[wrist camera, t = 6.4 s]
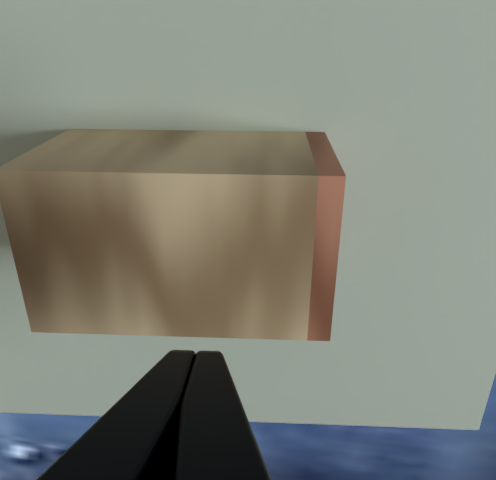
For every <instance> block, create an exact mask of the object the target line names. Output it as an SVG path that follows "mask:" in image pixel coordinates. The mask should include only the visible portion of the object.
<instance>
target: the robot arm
mask: <svg viewBox="0 0 496 480" xmlns="http://www.w3.org/2000/svg"><path fill="white" fill-rule="evenodd" d="M37 480H271V478H270V475H269V472H268V470H267V467H266V465H265V462H264V459H263V457H262V454H261V452H260V449H259V447H258V444H257V441H256V439H255V436H254V434H253V431H252V428H251V426H250V423H249V421H248V418H247V415H246V413H245V410H244V408H243V405H242V402H241V400H240V397H239V395H238V392H237V390H236V387H235V384H234V382H233V379H232V377H231V374H230V371H229V369H228V366H227V364H226V361H225V358H224V356H223V354H222V353H221V352H220V351H198V352H197V353H195V352H194V351H193V350H171V351H169V352H168V353H167V354H166V355H165V356H164V357H163V358H162V359H161V360H160V361H159V362H158V363H157V364H156V365H155V366H154V367H153V368H151V369H150V370H149V371H148V372H147V373H146V374H145V375H144V376H143V377H142V378H141V379H140V380H139V381H138V382H137V383H136V384H135V385H134V386H133V387H132V388H131V389H130V390H129V391H128V392H127V393H126V394H125V395H124V396H123V397H122V398H121V399H119V400H118V401H117V402H116V403H115V404H114V405H113V406H112V407H111V408H110V409H109V410H108V411H107V412H106V413H105V414H104V415H103V416H102V417H101V418H100V419H99V420H98V421H97V422H96V423H95V424H94V425H93V426H92V427H91V428H90V429H89V430H87V431H86V432H85V433H84V434H83V435H82V436H81V437H80V438H79V439H78V440H77V441H76V442H75V443H74V444H73V445H72V446H71V447H70V448H69V449H68V450H67V451H66V452H65V453H64V454H63V455H62V456H61V457H60V458H59V459H58V460H57V461H55V462H54V463H53V464H52V465H51V466H50V467H49V468H48V469H47V470H46V471H45V472H44V473H43V474H42V475H41V476H40V477H39V478H38V479H37Z"/></svg>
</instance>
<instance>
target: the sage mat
mask: <svg viewBox="0 0 496 480" xmlns="http://www.w3.org/2000/svg"><path fill="white" fill-rule="evenodd" d="M69 129H116V130H196V131H277V132H325V134H326V136H327V138H328V140H329V142H330V144H331V146H332V148H333V150H334V152H335V154H336V156H337V158H338V161H339V163H340V165H341V167H342V169H343V171H344V173H345V175H346V182H345V192H344V203H343V213H342V223H341V234H340V244H339V254H338V265H337V275H336V285H335V296H334V306H333V316H332V327H331V337H330V341H307V340H274V339H240V338H207V337H174V336H141V335H108V334H75V333H42V332H31V328H30V324H29V320H28V316H27V312H26V308H25V303H24V299H23V295H22V291H21V287H20V283H19V279H18V274H17V270H16V266H15V262H14V258H13V254H12V249H11V245H10V241H9V237H8V233H7V229H6V224H5V220H4V216H3V212H2V208H1V204H0V412H2V413H29V414H56V415H83V416H103V415H104V414H105V413H106V412H107V411H108V410H109V409H110V408H111V407H112V406H113V405H114V404H115V403H116V402H117V401H118V400H119V399H121V398H122V397H123V396H124V395H125V394H126V393H127V392H128V391H129V390H130V389H131V388H132V387H133V386H134V385H135V384H136V383H137V382H138V381H139V380H140V379H141V378H142V377H143V376H144V375H145V374H146V373H147V372H148V371H149V370H150V369H151V368H153V367H154V366H155V365H156V364H157V363H158V362H159V361H160V360H161V359H162V358H163V357H164V356H165V355H166V354H167V353H168V352H169V351H171V350H193V351H194V352H195V353H197V352H198V351H220V352H221V353H222V354H223V356H224V358H225V361H226V364H227V366H228V369H229V371H230V374H231V377H232V379H233V382H234V384H235V387H236V390H237V392H238V395H239V397H240V400H241V402H242V405H243V408H244V410H245V413H246V415H247V418H248V421H249V422H273V423H300V424H327V425H354V426H381V427H408V428H435V429H462V430H479V428H480V424H481V421H482V417H483V414H484V411H485V407H486V404H487V400H488V397H489V394H490V390H491V387H492V383H493V380H494V377H495V373H496V0H0V166H2V165H4V164H6V163H7V162H9V161H11V160H13V159H15V158H17V157H19V156H20V155H22V154H24V153H26V152H28V151H30V150H32V149H33V148H35V147H37V146H39V145H41V144H43V143H45V142H46V141H48V140H50V139H52V138H54V137H56V136H58V135H60V134H61V133H63V132H65V131H67V130H69Z"/></svg>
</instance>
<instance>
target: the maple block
mask: <svg viewBox="0 0 496 480" xmlns="http://www.w3.org/2000/svg"><path fill="white" fill-rule="evenodd" d="M345 182H346V175H345V173H344V171H343V169H342V167H341V165H340V163H339V161H338V158H337V156H336V154H335V152H334V150H333V148H332V146H331V144H330V142H329V140H328V138H327V136H326V134H325V132H277V131H196V130H116V129H69V130H67V131H65V132H63V133H61V134H60V135H58V136H56V137H54V138H52V139H50V140H48V141H46V142H45V143H43V144H41V145H39V146H37V147H35V148H33V149H32V150H30V151H28V152H26V153H24V154H22V155H20V156H19V157H17V158H15V159H13V160H11V161H9V162H7V163H6V164H4V165H2V166H0V204H1V208H2V212H3V216H4V220H5V224H6V229H7V233H8V237H9V241H10V245H11V249H12V254H13V258H14V262H15V266H16V270H17V274H18V279H19V283H20V287H21V291H22V295H23V299H24V303H25V308H26V312H27V316H28V320H29V324H30V328H31V332H42V333H75V334H108V335H141V336H174V337H207V338H240V339H274V340H307V341H330V337H331V327H332V316H333V306H334V296H335V285H336V275H337V265H338V254H339V244H340V234H341V223H342V213H343V203H344V192H345Z"/></svg>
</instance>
